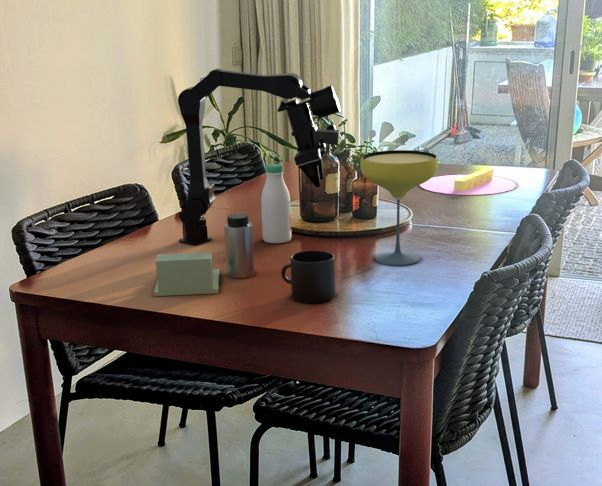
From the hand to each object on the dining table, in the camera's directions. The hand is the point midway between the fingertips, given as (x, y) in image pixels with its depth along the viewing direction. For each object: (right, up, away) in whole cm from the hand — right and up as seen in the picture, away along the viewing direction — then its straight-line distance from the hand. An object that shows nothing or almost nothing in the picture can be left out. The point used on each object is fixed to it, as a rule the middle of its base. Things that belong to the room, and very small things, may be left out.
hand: (320, 183), depth 222 cm
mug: (-3, -31, -35) cm, 47 cm away
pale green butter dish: (-31, -28, -25) cm, 48 cm away
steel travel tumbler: (-19, -25, -19) cm, 37 cm away
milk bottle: (-11, -14, +8) cm, 20 cm away
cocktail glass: (+19, -21, -11) cm, 30 cm away
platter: (+51, +11, +67) cm, 85 cm away
